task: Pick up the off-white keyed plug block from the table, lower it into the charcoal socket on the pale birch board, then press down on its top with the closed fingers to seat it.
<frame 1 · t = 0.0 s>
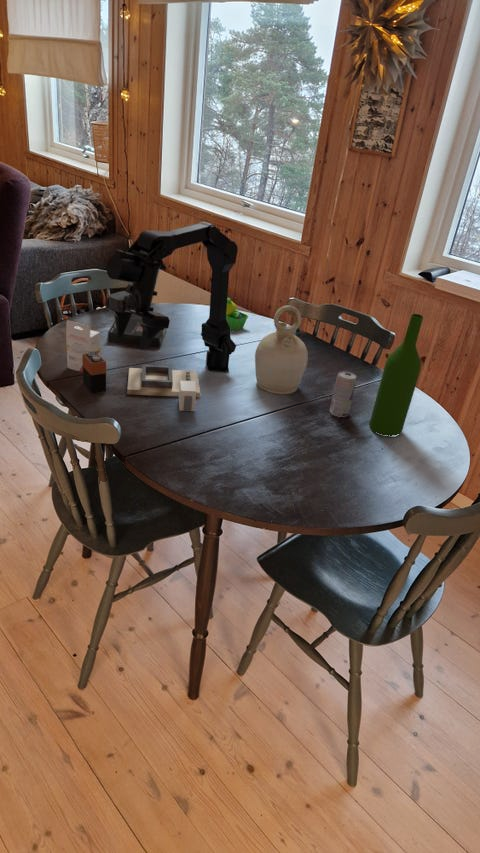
hand: (130, 343, 146), 15 cm above the table, tool pointing down, fingers open, 9 cm apart
jug: (276, 386, 171), on the table
portable cd player: (138, 338, 192), on the table
energy drink: (338, 413, 159), on the table
plug: (186, 405, 153), on the table
header board: (163, 384, 162), on the table
wine bottle: (384, 429, 155), on the table
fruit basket: (228, 326, 211), on the table
ink cartridge box: (84, 369, 165), on the table
battery: (94, 388, 156), on the table
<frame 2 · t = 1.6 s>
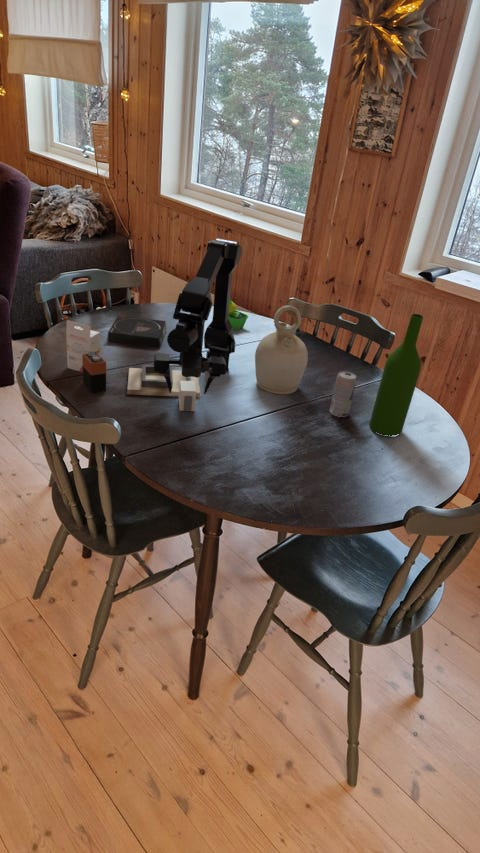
hand: (187, 393, 151), 4 cm above the table, tool pointing down, fingers open, 9 cm apart
nothing on the table moved.
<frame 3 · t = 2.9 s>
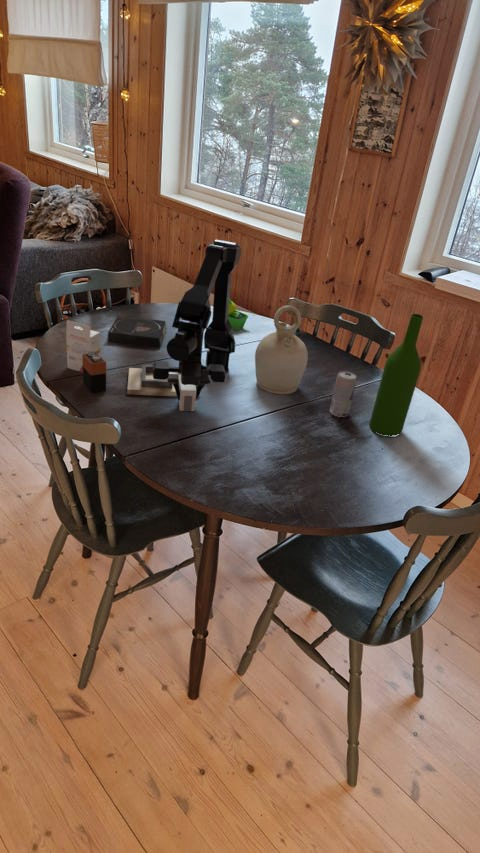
hand: (186, 400, 152), 2 cm above the table, tool pointing down, fingers closed on plug, 4 cm apart
plug: (186, 405, 153), on the table, touching gripper
everything else where it was.
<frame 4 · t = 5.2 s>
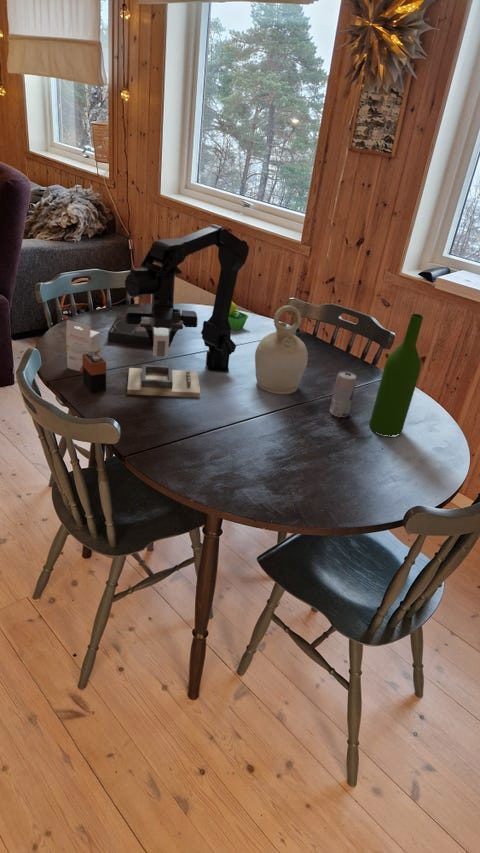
hand: (160, 346, 155), 12 cm above the table, tool pointing down, fingers closed on plug, 4 cm apart
plug: (160, 352, 156), point 10 cm above the table, touching gripper
everything else where it was.
when the fingers open (5 cm above the table, at t = 7.3 s): plug drops 2 cm, resting on header board.
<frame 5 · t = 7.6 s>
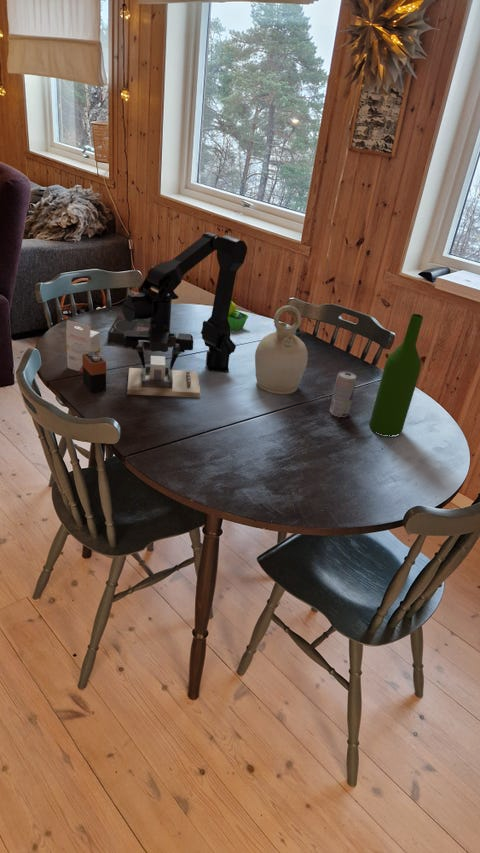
hand: (157, 368, 159), 5 cm above the table, tool pointing down, fingers open, 7 cm apart
plug: (157, 379, 161), point 1 cm above the table, touching header board
everything else where it was.
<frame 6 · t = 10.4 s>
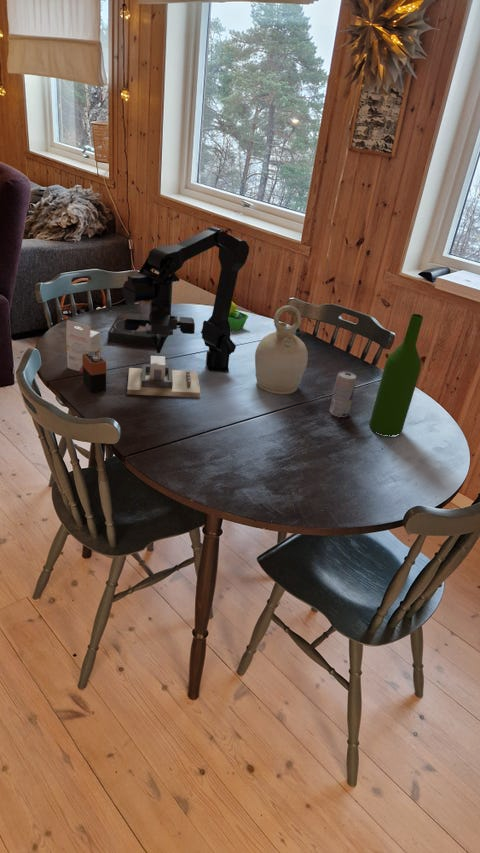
hand: (158, 352, 157), 10 cm above the table, tool pointing down, fingers closed
nothing on the table moved.
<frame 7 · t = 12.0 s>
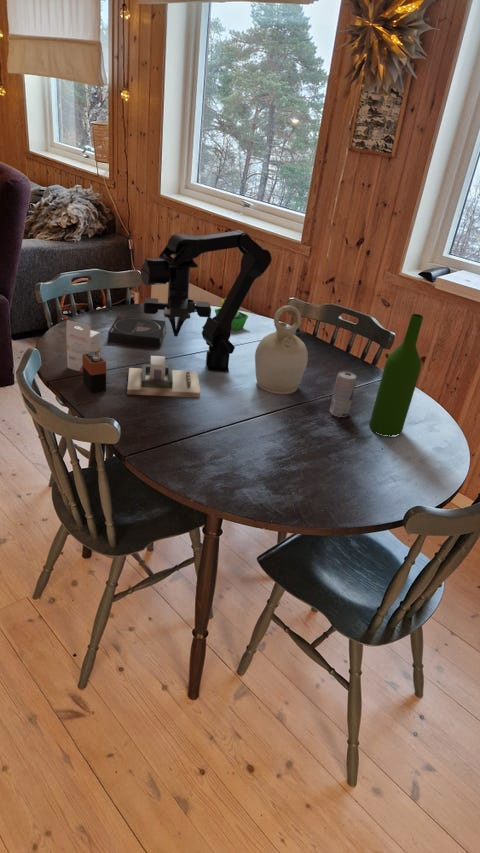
hand: (175, 336, 163), 12 cm above the table, tool pointing down, fingers closed
nothing on the table moved.
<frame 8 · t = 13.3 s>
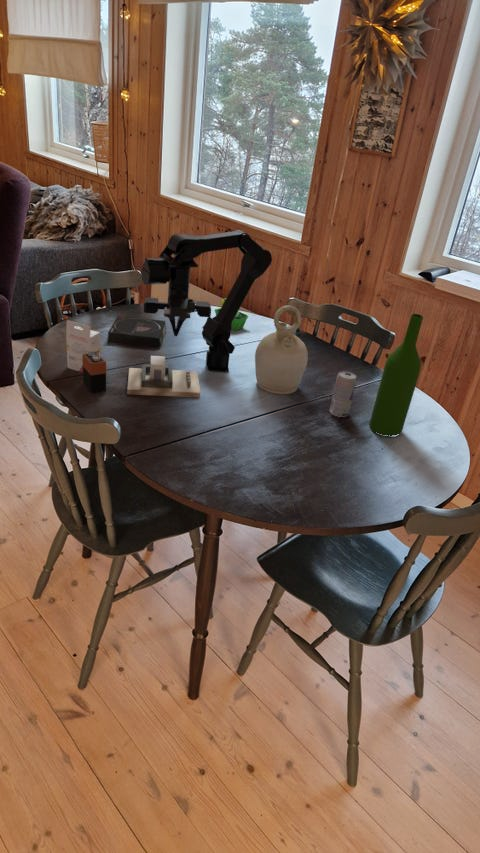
hand: (175, 335, 163), 12 cm above the table, tool pointing down, fingers closed
nothing on the table moved.
at the end: plug 0.1 cm from the target spot on the header board, point 1.5 cm above the header board's base; plug tilted 0°; the gripper is holding nothing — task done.
